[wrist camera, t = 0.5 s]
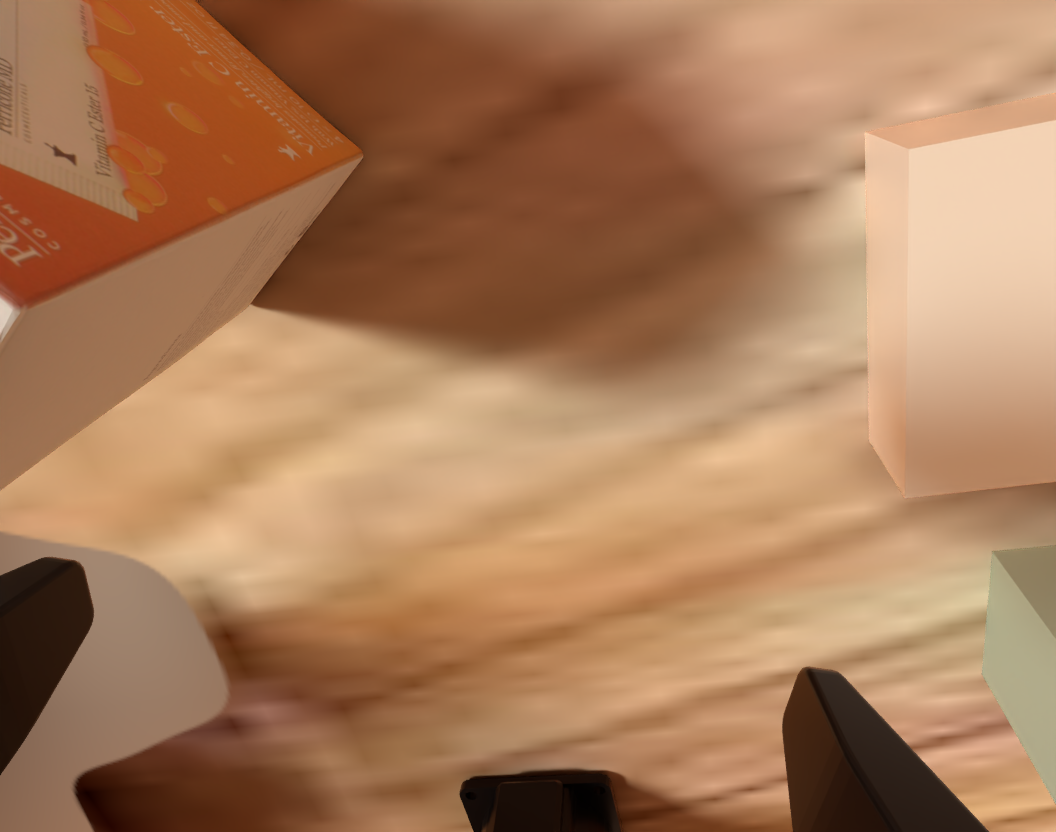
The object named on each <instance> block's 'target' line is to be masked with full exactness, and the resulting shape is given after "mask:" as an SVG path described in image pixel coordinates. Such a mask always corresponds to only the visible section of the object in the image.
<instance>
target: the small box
mask: <svg viewBox="0 0 1056 832" xmlns="http://www.w3.org/2000/svg"><path fill="white" fill-rule="evenodd" d="M362 158H363V152H362V151H361V149H360V148H358V147H357V146H356V145H355V144H354V143H352V142H351V141H350V140H349V139H347V138H346V137H345V136H344V135H343V134H342V133H340V132H339V131H338V130H337V129H336V128H334V127H333V126H332V125H331V124H330V123H328V122H327V121H326V120H325V119H324V118H323V117H322V116H321V115H319V114H318V113H317V112H316V111H315V110H314V109H313V108H311V107H310V106H309V105H308V104H307V103H306V102H305V101H304V100H302V99H301V98H300V97H299V96H298V95H297V94H296V93H295V92H294V91H292V90H291V89H290V88H289V87H288V86H287V85H286V84H285V83H284V82H283V81H281V80H280V79H279V78H278V77H277V76H276V75H275V74H274V73H273V72H272V71H271V70H270V69H269V68H267V67H266V66H265V65H264V64H263V63H262V62H261V61H260V60H259V59H257V58H256V57H255V56H254V55H253V54H252V53H251V52H250V51H249V50H247V49H246V48H245V47H244V46H243V45H242V44H241V43H240V42H239V41H238V40H237V39H236V38H234V37H233V36H232V35H231V34H230V33H229V32H228V31H227V30H226V29H225V28H224V27H223V26H221V25H220V24H219V23H218V22H217V21H216V20H215V19H214V18H213V17H212V16H211V15H210V14H209V13H208V12H207V11H206V10H204V9H203V8H202V7H201V6H200V5H199V4H198V3H197V2H196V1H195V0H0V490H2V489H3V488H4V487H6V486H7V485H8V484H10V483H11V482H12V481H14V480H15V479H16V478H18V477H19V476H20V475H22V474H23V473H24V472H26V471H27V470H29V469H30V468H31V467H33V466H34V465H35V464H37V463H38V462H39V461H41V460H42V459H43V458H45V457H46V456H47V455H49V454H50V453H51V452H53V451H54V450H55V449H57V448H58V447H59V446H61V445H62V444H64V443H65V442H66V441H68V440H69V439H70V438H72V437H73V436H75V435H76V434H77V433H79V432H80V431H81V430H83V429H84V428H86V427H87V426H88V425H90V424H91V423H92V422H94V421H95V420H96V419H98V418H99V417H101V416H102V415H103V414H105V413H106V412H107V411H109V410H110V409H112V408H113V407H114V406H116V405H117V404H119V403H120V402H122V401H123V400H124V399H126V398H127V397H129V396H130V395H131V394H133V393H134V392H135V391H137V390H138V389H140V388H141V387H142V386H144V385H145V384H147V383H148V382H149V381H151V380H152V379H153V378H155V377H156V376H158V375H159V374H160V373H162V372H163V371H164V370H166V369H167V368H169V367H170V366H171V365H173V364H174V363H175V362H177V361H178V360H179V359H181V358H182V357H183V356H185V355H186V354H187V353H188V352H190V351H191V350H192V349H194V348H195V347H196V346H198V345H199V344H200V343H201V342H203V341H204V340H205V339H206V338H207V337H209V336H210V335H212V334H213V333H214V332H216V331H217V330H218V329H220V328H221V327H222V326H224V325H225V324H226V323H228V322H229V321H230V320H232V319H233V318H234V317H236V316H237V315H238V314H239V313H241V312H242V311H243V310H245V309H246V308H247V307H248V306H249V305H250V304H251V302H252V301H253V300H254V298H255V297H256V295H257V294H258V293H259V291H260V290H261V289H262V288H263V286H264V285H265V284H266V282H267V281H268V280H269V279H270V277H271V276H272V275H273V273H274V272H275V271H276V269H277V268H278V267H279V266H280V264H281V263H282V262H283V260H284V259H285V258H286V256H287V255H288V254H289V253H290V251H291V250H292V249H293V247H294V246H295V245H296V244H297V242H298V241H299V240H300V238H301V237H302V236H303V235H304V233H305V232H306V231H307V229H308V228H309V227H310V226H311V224H312V223H313V222H314V220H315V219H316V218H317V217H318V215H319V214H320V213H321V211H322V210H323V209H324V208H325V206H326V205H327V204H328V203H329V201H330V200H331V199H332V197H333V196H334V195H335V194H336V192H337V191H338V190H339V188H340V187H341V186H342V185H343V183H344V182H345V181H346V179H347V178H348V177H349V175H350V174H351V173H352V171H353V170H354V169H355V168H356V166H357V165H358V164H359V163H360V161H361V160H362Z"/></svg>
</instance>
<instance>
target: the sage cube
mask: <svg viewBox="0 0 1056 832" xmlns="http://www.w3.org/2000/svg"><path fill="white" fill-rule="evenodd" d="M982 675H983V677H984V679H985V681H986V682H987V684H988V686H989V688H990V689H991V691H992V693H993V695H994V696H995V698H996V700H997V702H998V703H999V705H1000V707H1001V709H1002V711H1003V712H1004V714H1005V716H1006V718H1007V719H1008V721H1009V723H1010V725H1011V726H1012V728H1013V730H1014V732H1015V733H1016V735H1017V737H1018V739H1019V740H1020V742H1021V744H1022V746H1023V747H1024V749H1025V751H1026V753H1027V754H1028V756H1029V758H1030V760H1031V761H1032V763H1033V765H1034V767H1035V768H1036V770H1037V772H1038V774H1039V775H1040V777H1041V779H1042V781H1043V783H1044V784H1045V786H1046V788H1047V790H1048V791H1049V793H1050V795H1051V797H1052V798H1053V800H1054V802H1055V804H1056V545H1055V546H1044V547H1034V548H1023V549H1013V550H1002V551H992V561H991V573H990V584H989V596H988V608H987V619H986V631H985V643H984V654H983V666H982Z"/></svg>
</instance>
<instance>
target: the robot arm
mask: <svg viewBox="0 0 1056 832" xmlns="http://www.w3.org/2000/svg"><path fill="white" fill-rule="evenodd" d="M93 617H94V608H93V604H92V599H91V595H90V591H89V587H88V583H87V578H86V574H85V570H84V567H83V566H82V565H81V564H80V563H79V562H77V561H75V560H70V559H63V558H56V557H44V558H41V559H38V560H36V561H34V562H31V563H29V564H26V565H24V566H22V567H19V568H17V569H15V570H12V571H10V572H8V573H5V574H3V575H1V576H0V775H1V773H2V772H3V771H4V769H5V768H6V766H7V765H8V764H9V762H10V761H11V759H12V758H13V756H14V755H15V753H16V752H17V751H18V749H19V748H20V746H21V745H22V743H23V742H24V740H25V739H26V737H27V735H28V734H29V732H30V731H31V729H32V727H33V726H34V724H35V723H36V721H37V719H38V718H39V716H40V714H41V712H42V710H43V709H44V707H45V706H46V704H47V702H48V700H49V698H50V697H51V695H52V693H53V692H54V690H55V688H56V687H57V685H58V683H59V681H60V680H61V678H62V676H63V675H64V673H65V671H66V669H67V668H68V666H69V664H70V663H71V661H72V659H73V657H74V656H75V654H76V652H77V651H78V648H79V647H80V645H81V644H82V642H83V640H84V639H85V637H86V635H87V633H88V631H89V630H90V627H91V625H92V622H93ZM782 733H783V743H784V752H785V762H786V771H787V780H788V790H789V799H790V809H791V818H792V827H793V832H989V831H988V830H987V829H986V828H985V827H984V826H983V825H982V824H981V823H980V821H979V820H978V819H977V818H976V817H975V816H974V815H973V814H972V813H971V812H970V811H969V810H968V809H967V808H966V807H965V805H964V804H963V803H962V802H961V801H960V800H959V799H958V798H957V797H956V796H955V795H954V794H953V793H952V792H951V791H950V789H949V788H948V787H947V786H946V785H945V784H944V783H943V782H942V781H941V780H940V779H939V778H938V777H937V776H936V775H935V773H934V772H933V771H932V770H931V769H930V768H929V767H928V766H927V765H926V764H925V763H924V762H923V761H922V760H921V759H920V757H919V756H918V755H917V754H916V753H915V752H914V751H913V750H912V749H911V748H910V747H909V746H908V745H907V744H906V743H905V741H904V740H903V739H902V738H901V737H900V736H899V735H898V734H897V733H896V732H895V731H894V730H893V729H892V728H891V727H890V725H889V724H888V723H887V722H886V721H885V720H884V719H883V718H882V717H881V716H880V715H879V714H878V713H877V712H876V711H875V709H874V708H873V707H872V706H871V705H870V704H869V703H868V702H867V701H866V700H865V699H864V698H863V697H862V696H861V695H860V693H859V692H858V691H857V690H856V689H855V688H854V687H853V686H852V685H851V684H850V683H849V682H848V681H847V680H846V678H845V677H844V676H842V675H841V674H840V673H839V672H837V671H834V670H828V669H822V668H815V667H804V668H802V669H801V671H800V672H799V674H798V676H797V679H796V681H795V684H794V687H793V690H792V692H791V695H790V698H789V701H788V704H787V706H786V709H785V712H784V716H783V724H782ZM460 798H461V800H462V803H463V805H464V808H465V810H466V813H467V816H468V818H469V821H470V823H471V826H472V829H473V831H474V832H623V828H622V824H621V820H620V816H619V812H618V808H617V804H616V800H615V795H614V791H613V787H612V783H611V780H610V778H609V777H607V776H606V775H603V774H581V775H559V776H538V777H517V778H495V779H474V780H466V781H464V782H463V783H462V785H461V790H460Z"/></svg>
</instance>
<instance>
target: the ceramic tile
mask: <svg viewBox="0 0 1056 832" xmlns="http://www.w3.org/2000/svg"><path fill="white" fill-rule="evenodd" d="M865 180H866V256H867V332H868V408H869V442H870V443H871V445H872V446H873V448H874V450H875V451H876V453H877V455H878V456H879V458H880V459H881V461H882V463H883V464H884V466H885V467H886V469H887V471H888V472H889V474H890V476H891V477H892V479H893V480H894V482H895V484H896V485H897V487H898V488H899V490H900V492H901V493H902V495H903V496H904V498H905V499H908V498H916V497H925V496H934V495H943V494H952V493H961V492H970V491H978V490H987V489H996V488H1005V487H1014V486H1023V485H1031V484H1040V483H1049V482H1056V93H1051V94H1046V95H1041V96H1037V97H1032V98H1027V99H1022V100H1017V101H1012V102H1007V103H1003V104H998V105H993V106H988V107H983V108H978V109H973V110H968V111H964V112H959V113H954V114H949V115H944V116H939V117H934V118H930V119H925V120H920V121H915V122H910V123H905V124H900V125H896V126H891V127H886V128H881V129H876V130H871V131H866V132H865Z"/></svg>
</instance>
